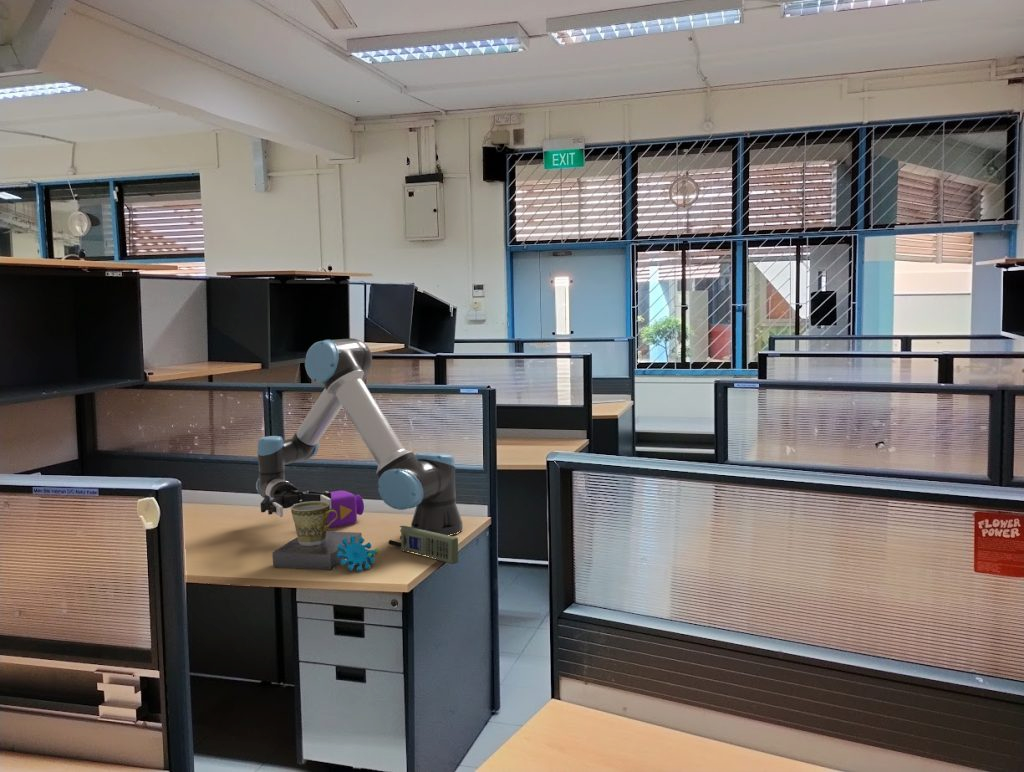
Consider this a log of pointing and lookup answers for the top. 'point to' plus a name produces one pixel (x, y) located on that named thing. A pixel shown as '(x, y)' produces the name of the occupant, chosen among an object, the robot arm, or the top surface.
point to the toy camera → (345, 508)
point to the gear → (356, 553)
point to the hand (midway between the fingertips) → (306, 507)
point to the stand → (313, 553)
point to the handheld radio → (428, 544)
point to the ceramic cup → (311, 521)
